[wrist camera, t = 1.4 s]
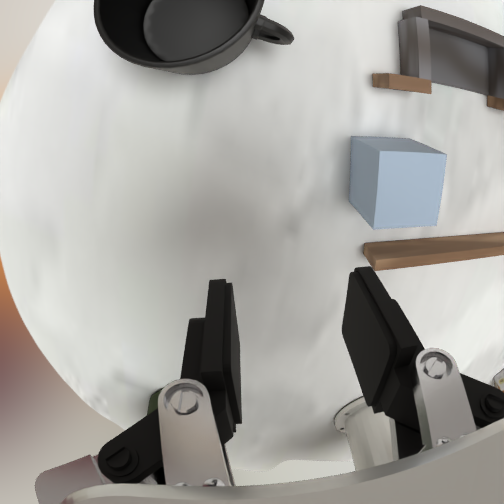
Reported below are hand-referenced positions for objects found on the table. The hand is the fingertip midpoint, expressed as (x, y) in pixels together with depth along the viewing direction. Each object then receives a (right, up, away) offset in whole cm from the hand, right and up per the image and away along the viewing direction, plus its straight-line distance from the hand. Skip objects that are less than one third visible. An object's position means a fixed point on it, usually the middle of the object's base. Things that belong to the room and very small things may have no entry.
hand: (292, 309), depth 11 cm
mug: (-5, +20, +9) cm, 22 cm away
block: (+10, +10, +15) cm, 21 cm away
